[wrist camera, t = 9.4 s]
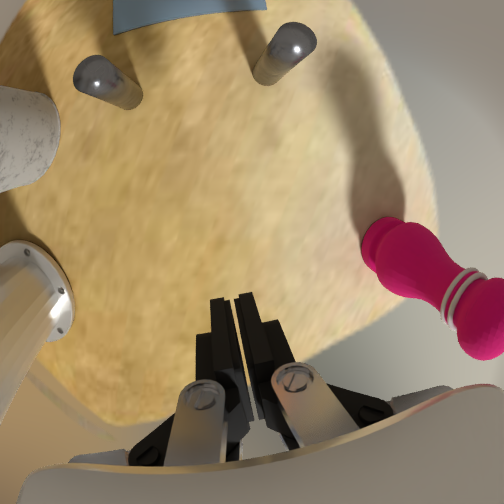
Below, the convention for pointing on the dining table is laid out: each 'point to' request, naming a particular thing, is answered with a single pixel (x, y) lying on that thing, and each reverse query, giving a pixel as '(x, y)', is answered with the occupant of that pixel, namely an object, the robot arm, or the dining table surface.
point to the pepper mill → (438, 283)
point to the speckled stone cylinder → (26, 136)
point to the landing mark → (172, 10)
